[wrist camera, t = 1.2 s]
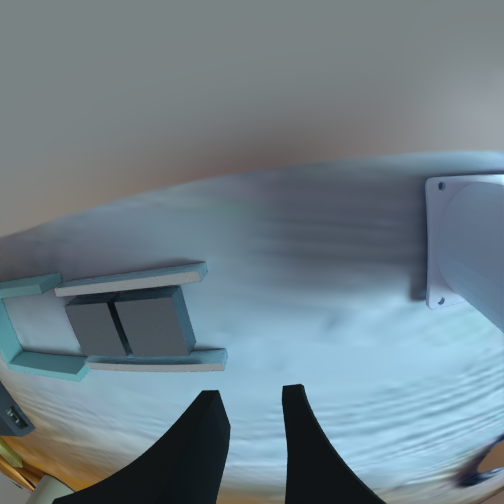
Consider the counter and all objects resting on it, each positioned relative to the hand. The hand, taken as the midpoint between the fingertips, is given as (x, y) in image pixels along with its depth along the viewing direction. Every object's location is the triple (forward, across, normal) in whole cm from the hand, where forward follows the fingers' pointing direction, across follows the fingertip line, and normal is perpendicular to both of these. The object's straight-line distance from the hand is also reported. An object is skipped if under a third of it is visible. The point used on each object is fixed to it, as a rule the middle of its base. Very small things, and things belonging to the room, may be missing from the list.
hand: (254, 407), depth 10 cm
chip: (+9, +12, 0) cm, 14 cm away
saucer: (+9, +56, +30) cm, 64 cm away
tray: (+8, +20, 0) cm, 21 cm away
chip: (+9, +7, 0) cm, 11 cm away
